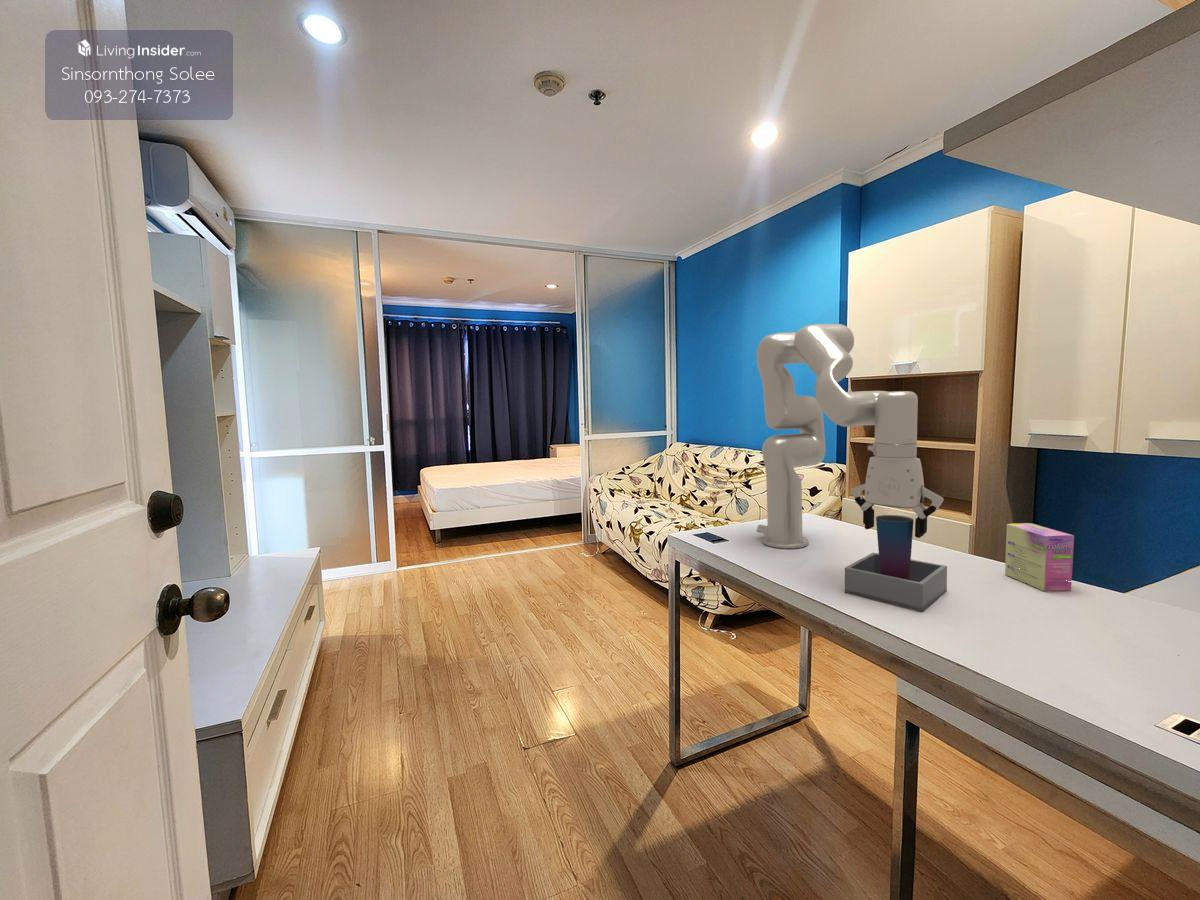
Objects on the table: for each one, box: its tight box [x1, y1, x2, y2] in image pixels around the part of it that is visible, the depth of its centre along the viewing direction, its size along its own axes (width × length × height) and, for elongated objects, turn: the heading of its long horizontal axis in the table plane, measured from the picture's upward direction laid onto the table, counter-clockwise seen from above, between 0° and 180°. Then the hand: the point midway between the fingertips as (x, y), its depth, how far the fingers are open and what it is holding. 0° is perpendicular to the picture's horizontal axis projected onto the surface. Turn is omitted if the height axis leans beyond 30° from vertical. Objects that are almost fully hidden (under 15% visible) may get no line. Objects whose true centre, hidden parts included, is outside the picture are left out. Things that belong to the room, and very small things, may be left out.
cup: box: [875, 514, 915, 580], centre depth 105 cm, size 7×7×15 cm
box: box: [1004, 522, 1075, 592], centre depth 107 cm, size 10×6×12 cm, turn 179°
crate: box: [844, 552, 948, 613], centre depth 106 cm, size 15×15×6 cm
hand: (893, 532), depth 105 cm, fingers open, 9 cm apart
